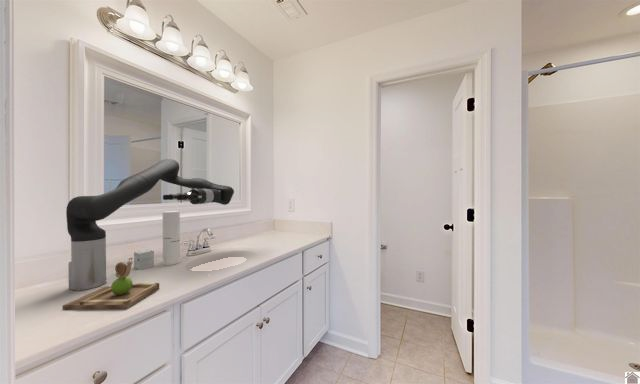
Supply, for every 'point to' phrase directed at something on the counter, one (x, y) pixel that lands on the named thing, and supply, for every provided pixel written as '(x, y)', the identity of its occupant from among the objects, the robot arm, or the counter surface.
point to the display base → (113, 297)
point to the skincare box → (143, 259)
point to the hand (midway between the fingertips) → (170, 197)
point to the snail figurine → (122, 278)
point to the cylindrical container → (171, 237)
